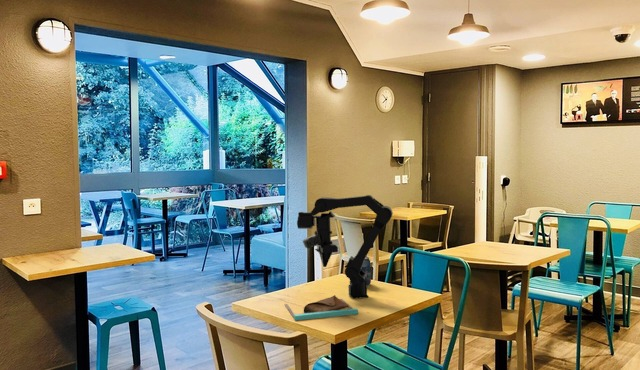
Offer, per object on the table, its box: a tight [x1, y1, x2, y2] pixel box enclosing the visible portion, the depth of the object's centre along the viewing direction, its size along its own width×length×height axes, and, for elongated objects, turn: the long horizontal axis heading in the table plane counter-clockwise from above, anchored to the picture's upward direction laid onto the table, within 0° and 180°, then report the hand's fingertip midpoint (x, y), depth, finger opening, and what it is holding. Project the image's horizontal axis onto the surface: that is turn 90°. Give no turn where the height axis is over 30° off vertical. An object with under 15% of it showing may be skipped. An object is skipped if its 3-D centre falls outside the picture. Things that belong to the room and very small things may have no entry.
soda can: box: [361, 256, 372, 287], centre depth 234 cm, size 7×7×12 cm
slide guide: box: [284, 298, 359, 321], centre depth 199 cm, size 23×20×2 cm
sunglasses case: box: [303, 295, 350, 314], centre depth 198 cm, size 18×7×7 cm
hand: (324, 266), depth 217 cm, fingers closed
